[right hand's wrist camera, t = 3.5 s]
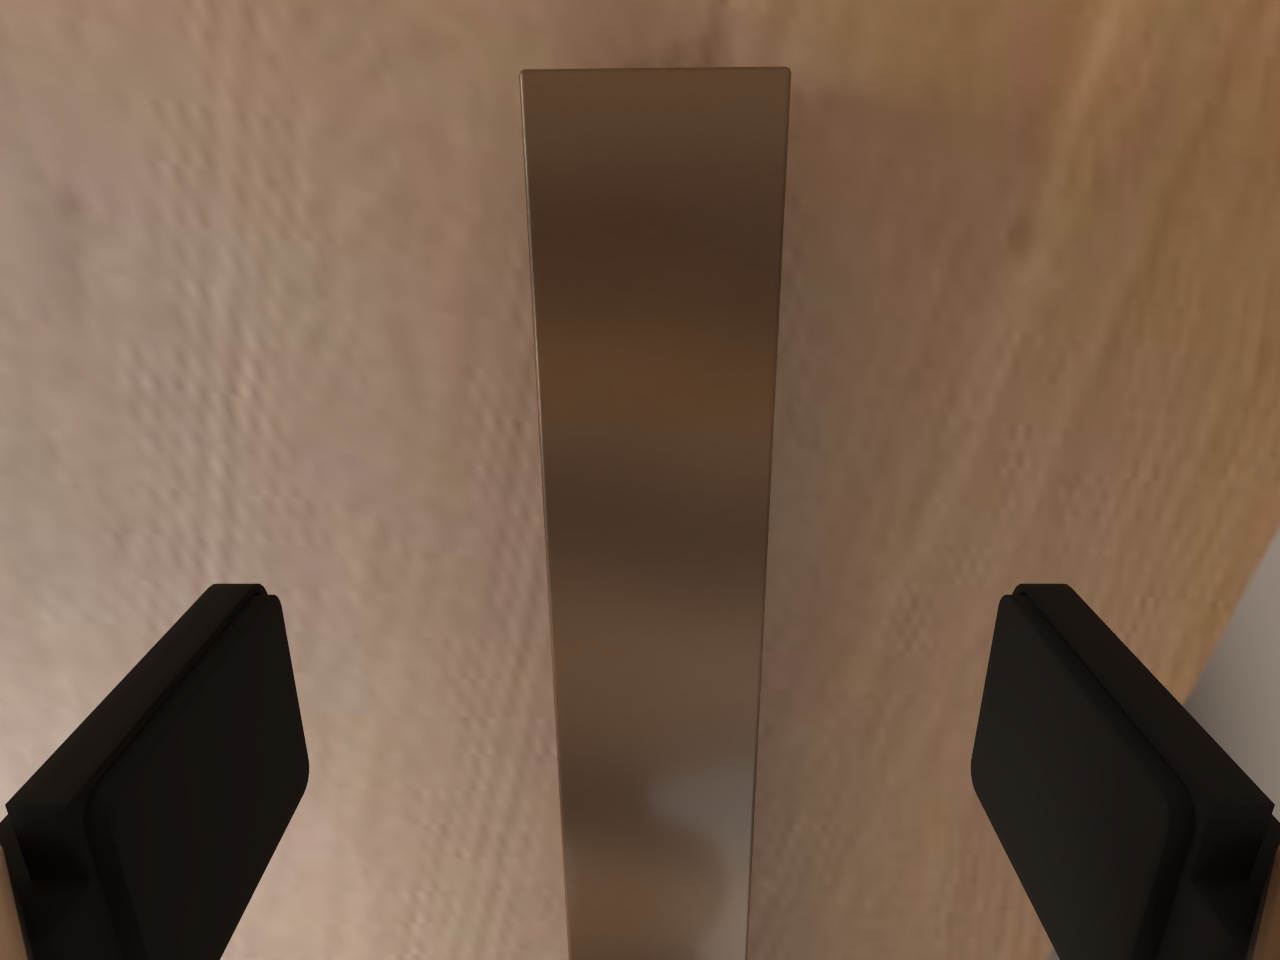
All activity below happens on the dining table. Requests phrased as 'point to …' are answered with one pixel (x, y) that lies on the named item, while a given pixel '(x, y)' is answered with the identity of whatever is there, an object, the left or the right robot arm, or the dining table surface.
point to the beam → (656, 482)
